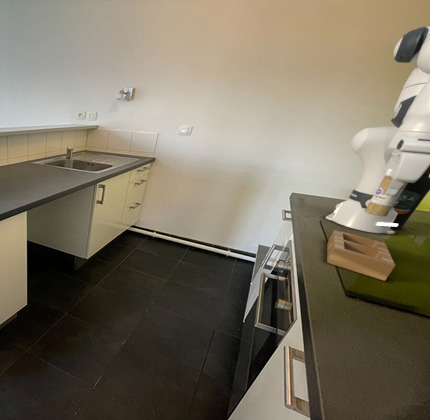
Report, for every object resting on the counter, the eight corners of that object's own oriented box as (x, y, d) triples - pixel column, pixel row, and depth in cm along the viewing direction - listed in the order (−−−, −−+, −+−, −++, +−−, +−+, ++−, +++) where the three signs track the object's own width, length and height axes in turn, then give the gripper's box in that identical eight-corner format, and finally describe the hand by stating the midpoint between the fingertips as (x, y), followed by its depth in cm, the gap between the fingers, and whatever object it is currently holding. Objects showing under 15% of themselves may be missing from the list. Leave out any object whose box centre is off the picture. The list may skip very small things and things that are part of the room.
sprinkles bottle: (359, 210, 76) (383, 167, 71) (374, 211, 75) (399, 168, 70) (376, 216, 71) (403, 171, 66) (392, 217, 71) (420, 172, 66)
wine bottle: (406, 230, 99) (462, 157, 88) (385, 227, 100) (437, 154, 89) (387, 223, 106) (436, 154, 95) (367, 220, 107) (413, 151, 96)
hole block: (327, 242, 86) (334, 229, 84) (376, 255, 79) (384, 242, 77) (326, 262, 73) (334, 248, 71) (384, 280, 66) (395, 265, 64)
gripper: (392, 140, 74) (368, 184, 80) (405, 144, 61) (375, 195, 66) (427, 143, 70) (399, 188, 75) (449, 147, 57) (413, 202, 62)
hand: (388, 192), depth 71 cm, fingers closed on sprinkles bottle, 4 cm apart
